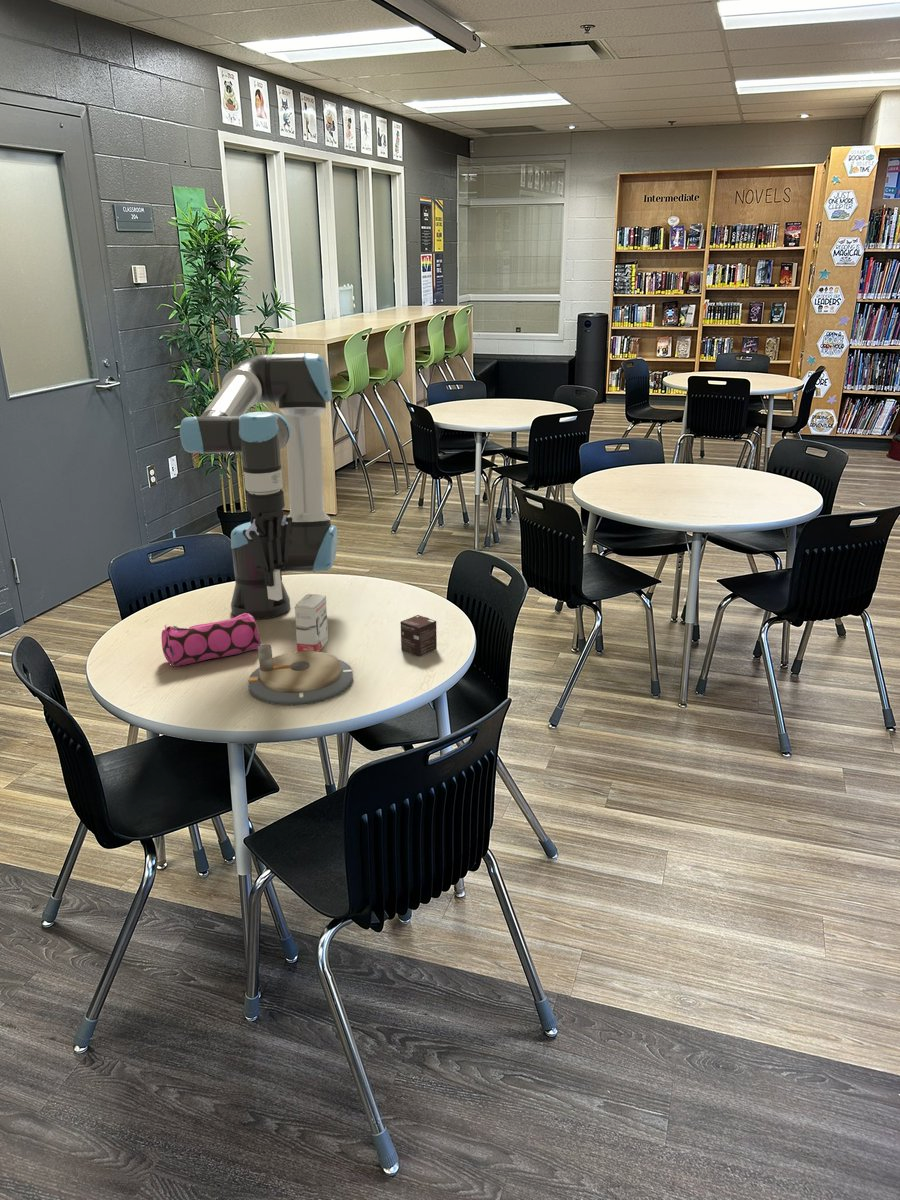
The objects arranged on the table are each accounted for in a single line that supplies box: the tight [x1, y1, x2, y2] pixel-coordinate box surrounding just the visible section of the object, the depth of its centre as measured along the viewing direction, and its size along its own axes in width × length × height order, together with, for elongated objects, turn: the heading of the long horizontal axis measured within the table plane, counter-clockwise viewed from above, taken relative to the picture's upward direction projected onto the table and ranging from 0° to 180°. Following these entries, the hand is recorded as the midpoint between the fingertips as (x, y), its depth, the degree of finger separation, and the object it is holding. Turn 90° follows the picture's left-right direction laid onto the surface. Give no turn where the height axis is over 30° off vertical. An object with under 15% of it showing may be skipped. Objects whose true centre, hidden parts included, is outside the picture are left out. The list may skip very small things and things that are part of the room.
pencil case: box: [161, 613, 261, 667], centre depth 203 cm, size 21×10×10 cm, turn 121°
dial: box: [257, 643, 341, 693], centre depth 188 cm, size 17×17×7 cm
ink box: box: [294, 593, 329, 652], centre depth 206 cm, size 9×5×12 cm, turn 168°
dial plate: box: [247, 658, 354, 706], centre depth 190 cm, size 22×22×2 cm
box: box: [400, 614, 438, 658], centre depth 204 cm, size 6×6×7 cm
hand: (275, 598), depth 189 cm, fingers closed
